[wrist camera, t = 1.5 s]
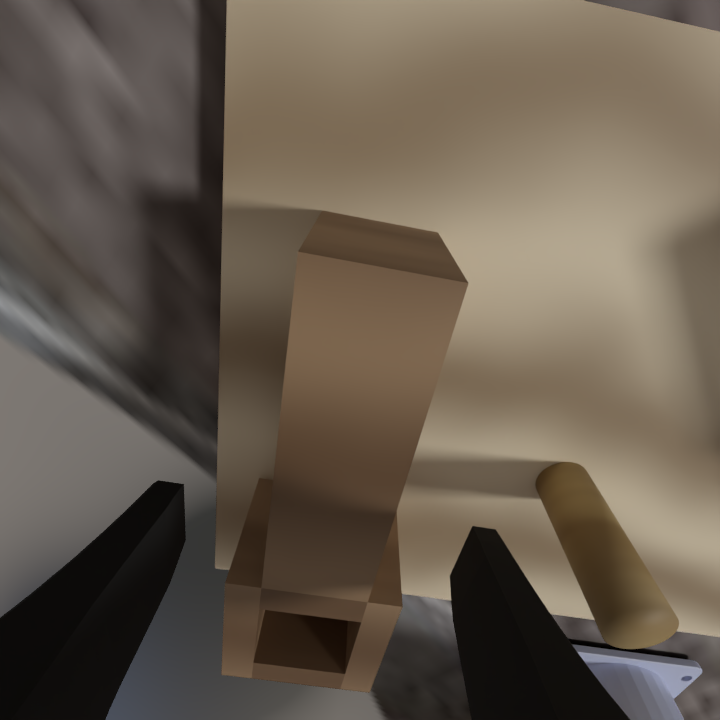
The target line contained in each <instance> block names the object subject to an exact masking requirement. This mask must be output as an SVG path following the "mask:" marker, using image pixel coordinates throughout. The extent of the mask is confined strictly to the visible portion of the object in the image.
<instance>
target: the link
mask: <svg viewBox="0 0 720 720" xmlns="http://www.w3.org/2000/svg"><path fill="white" fill-rule="evenodd" d="M467 286H468V281H467V280H466V278H465V276H464V275H463V273H462V271H461V270H460V268H459V266H458V265H457V263H456V261H455V260H454V258H453V257H452V255H451V253H450V252H449V250H448V248H447V247H446V245H445V243H444V242H443V240H442V238H441V237H440V235H439V233H438V232H433V231H428V230H423V229H417V228H412V227H407V226H402V225H396V224H391V223H386V222H381V221H375V220H370V219H365V218H360V217H355V216H349V215H344V214H339V213H334V212H328V211H323V210H322V212H321V213H320V215H319V217H318V218H317V220H316V222H315V224H314V225H313V227H312V229H311V230H310V232H309V234H308V235H307V237H306V239H305V240H304V242H303V244H302V245H301V247H300V249H299V250H298V255H297V264H296V273H295V282H294V291H293V301H292V310H291V319H290V328H289V338H288V347H287V356H286V365H285V375H284V384H283V393H282V402H281V411H280V421H279V430H278V439H277V448H276V458H275V467H274V476H273V480H269V479H263V478H259V480H258V483H257V486H256V489H255V492H254V495H253V498H252V502H251V505H250V508H249V511H248V514H247V517H246V520H245V523H244V526H243V529H242V533H241V536H240V539H239V542H238V545H237V548H236V551H235V554H234V557H233V560H232V564H231V567H230V570H229V573H228V576H227V579H226V582H225V600H224V625H223V650H222V675H229V676H236V677H245V678H253V679H261V680H270V681H277V682H286V683H294V684H302V685H310V686H319V687H328V688H335V689H344V690H353V691H360V692H368V693H369V692H370V690H371V687H372V685H373V682H374V679H375V677H376V674H377V672H378V669H379V667H380V664H381V661H382V659H383V656H384V654H385V651H386V648H387V646H388V643H389V641H390V638H391V635H392V633H393V630H394V628H395V625H396V622H397V620H398V617H399V615H400V612H401V610H402V591H401V575H400V558H399V542H398V525H397V508H398V505H399V502H400V499H401V495H402V492H403V489H404V486H405V483H406V480H407V476H408V473H409V470H410V467H411V464H412V461H413V457H414V454H415V451H416V448H417V445H418V442H419V438H420V435H421V432H422V429H423V426H424V423H425V419H426V416H427V413H428V410H429V407H430V404H431V400H432V397H433V394H434V391H435V388H436V385H437V381H438V378H439V375H440V372H441V369H442V366H443V362H444V359H445V356H446V353H447V350H448V347H449V343H450V340H451V337H452V334H453V331H454V328H455V324H456V321H457V318H458V315H459V312H460V309H461V305H462V302H463V299H464V296H465V293H466V290H467Z"/></svg>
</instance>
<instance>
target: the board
mask: <svg viewBox="0 0 720 720" xmlns="http://www.w3.org/2000/svg"><path fill="white" fill-rule="evenodd" d="M322 210H323V211H328V212H334V213H339V214H344V215H349V216H355V217H360V218H365V219H370V220H375V221H381V222H386V223H391V224H396V225H402V226H407V227H412V228H417V229H423V230H428V231H433V232H438V233H439V235H440V237H441V238H442V240H443V242H444V243H445V245H446V247H447V248H448V250H449V252H450V253H451V255H452V257H453V258H454V260H455V261H456V263H457V265H458V266H459V268H460V270H461V271H462V273H463V275H464V276H465V278H466V280H467V281H468V286H467V290H466V293H465V296H464V299H463V302H462V305H461V309H460V312H459V315H458V318H457V321H456V324H455V328H454V331H453V334H452V337H451V340H450V343H449V347H448V350H447V353H446V356H445V359H444V362H443V366H442V369H441V372H440V375H439V378H438V381H437V385H436V388H435V391H434V394H433V397H432V400H431V404H430V407H429V410H428V413H427V416H426V419H425V423H424V426H423V429H422V432H421V435H420V438H419V442H418V445H417V448H416V451H415V454H414V457H413V461H412V464H411V467H410V470H409V473H408V476H407V480H406V483H405V486H404V489H403V492H402V495H401V499H400V502H399V505H398V508H397V525H398V542H399V558H400V575H401V591H402V594H408V595H415V596H423V597H430V598H437V599H445V600H451V588H450V574H451V572H452V570H453V567H454V565H455V563H456V561H457V559H458V556H459V554H460V552H461V550H462V548H463V545H464V543H465V541H466V539H467V537H468V534H469V532H470V530H471V528H472V526H476V527H483V528H490V529H496V531H497V532H498V534H499V535H500V537H501V538H502V540H503V541H504V543H505V544H506V546H507V548H508V549H509V551H510V552H511V554H512V556H513V557H514V559H515V560H516V562H517V563H518V565H519V567H520V568H521V570H522V571H523V573H524V574H525V576H526V578H527V579H528V581H529V582H530V584H531V585H532V587H533V588H534V590H535V592H536V593H537V595H538V596H539V598H540V599H541V601H542V602H543V604H544V605H545V606H546V608H547V609H548V611H549V612H550V614H555V615H562V616H569V617H577V618H584V619H591V620H595V622H596V624H597V626H598V628H599V631H600V633H601V635H602V637H603V639H604V641H605V642H606V643H608V644H609V645H611V646H614V647H617V648H622V649H640V648H646V647H650V646H653V645H656V644H659V643H661V642H663V641H665V640H667V639H668V638H670V637H671V636H672V635H673V634H674V633H675V632H676V631H680V632H687V633H694V634H702V635H709V636H716V637H720V32H718V31H714V30H709V29H705V28H701V27H696V26H692V25H688V24H683V23H679V22H675V21H670V20H666V19H662V18H657V17H653V16H649V15H644V14H640V13H636V12H631V11H627V10H623V9H618V8H614V7H610V6H605V5H601V4H597V3H592V2H588V1H584V0H227V16H226V64H225V112H224V160H223V208H222V256H221V304H220V352H219V400H218V448H217V496H216V501H217V502H216V544H215V568H217V569H224V570H230V567H231V564H232V560H233V557H234V554H235V551H236V548H237V545H238V542H239V539H240V536H241V533H242V529H243V526H244V523H245V520H246V517H247V514H248V511H249V508H250V505H251V502H252V498H253V495H254V492H255V489H256V486H257V483H258V480H259V478H263V479H269V480H273V476H274V467H275V458H276V448H277V439H278V430H279V421H280V411H281V402H282V393H283V384H284V375H285V365H286V356H287V347H288V338H289V328H290V319H291V310H292V301H293V291H294V282H295V273H296V264H297V255H298V250H299V249H300V247H301V245H302V244H303V242H304V240H305V239H306V237H307V235H308V234H309V232H310V230H311V229H312V227H313V225H314V224H315V222H316V220H317V218H318V217H319V215H320V213H321V212H322Z"/></svg>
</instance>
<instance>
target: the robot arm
mask: <svg viewBox="0 0 720 720" xmlns="http://www.w3.org/2000/svg"><path fill="white" fill-rule="evenodd" d="M185 540H186V539H185V509H184V484H179V483H172V482H165V481H157V482H155V483H153V484H152V485H151V487H150V488H148V489H147V490H146V491H145V492H144V493H143V494H142V495H141V496H140V497H139V498H138V499H137V500H136V501H135V502H134V503H133V504H132V505H131V506H130V507H129V508H128V509H127V510H126V511H125V512H124V513H123V514H122V515H121V516H120V517H119V518H118V519H116V520H115V521H114V522H113V523H112V524H111V525H110V526H109V527H108V528H107V529H106V530H105V531H104V532H103V533H101V534H100V535H99V536H98V537H97V538H96V539H95V540H93V541H92V542H91V543H90V544H89V545H88V546H87V547H86V548H85V549H83V550H82V551H81V552H80V553H79V554H78V555H77V556H76V557H75V558H73V559H72V560H71V561H70V562H69V563H67V564H66V565H65V566H64V567H63V568H62V569H60V570H59V571H58V572H57V573H55V574H54V575H53V576H52V577H51V578H49V579H48V580H47V581H46V582H45V583H43V584H42V585H41V586H40V587H39V588H37V589H36V590H35V591H34V592H33V593H31V594H30V595H29V596H28V597H26V598H25V599H24V600H22V601H21V602H20V603H19V604H17V605H16V606H15V607H14V608H12V609H11V610H10V611H8V612H7V613H6V614H4V615H3V616H2V617H1V618H0V720H105V719H106V716H107V714H108V711H109V709H110V707H111V705H112V703H113V700H114V698H115V696H116V694H117V691H118V689H119V687H120V685H121V683H122V681H123V679H124V677H125V675H126V672H127V670H128V668H129V666H130V664H131V662H132V660H133V658H134V656H135V654H136V652H137V650H138V648H139V646H140V644H141V642H142V640H143V637H144V636H145V634H146V632H147V629H148V627H149V625H150V623H151V621H152V619H153V617H154V615H155V613H156V611H157V609H158V607H159V605H160V602H161V601H162V598H163V596H164V594H165V592H166V590H167V588H168V586H169V584H170V581H171V579H172V576H173V573H174V570H175V568H176V565H177V563H178V560H179V557H180V553H181V551H182V548H183V546H184V543H185ZM450 588H451V602H452V613H453V622H454V628H455V633H456V639H457V644H458V650H459V655H460V660H461V666H462V671H463V676H464V681H465V686H466V692H467V697H468V702H469V707H470V713H471V718H472V720H684V718H683V716H682V715H681V713H680V711H679V709H678V707H677V705H676V703H675V701H674V698H675V697H676V696H677V695H679V694H680V693H681V692H682V691H683V690H684V689H685V688H686V687H687V686H689V685H690V684H691V683H692V682H693V681H694V680H695V679H696V678H697V677H699V676H700V675H701V673H702V669H701V667H700V665H699V664H698V663H697V662H696V661H694V660H688V659H680V658H673V657H665V656H658V655H650V654H643V653H635V652H627V651H620V650H612V649H605V648H597V647H590V646H582V645H574V644H571V643H570V641H569V640H568V638H567V637H566V636H565V634H564V633H563V631H562V630H561V629H560V627H559V626H558V624H557V623H556V621H555V620H554V618H553V617H552V615H551V614H550V612H549V611H548V609H547V608H546V606H545V605H544V604H543V602H542V601H541V599H540V598H539V596H538V595H537V593H536V592H535V590H534V588H533V587H532V585H531V584H530V582H529V581H528V579H527V578H526V576H525V574H524V573H523V571H522V570H521V568H520V567H519V565H518V563H517V562H516V560H515V559H514V557H513V556H512V554H511V552H510V551H509V549H508V548H507V546H506V544H505V543H504V541H503V540H502V538H501V537H500V535H499V534H498V532H497V531H496V529H490V528H483V527H476V526H472V528H471V530H470V532H469V534H468V537H467V539H466V541H465V543H464V545H463V548H462V550H461V552H460V554H459V556H458V559H457V561H456V563H455V565H454V567H453V570H452V572H451V574H450Z"/></svg>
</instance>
